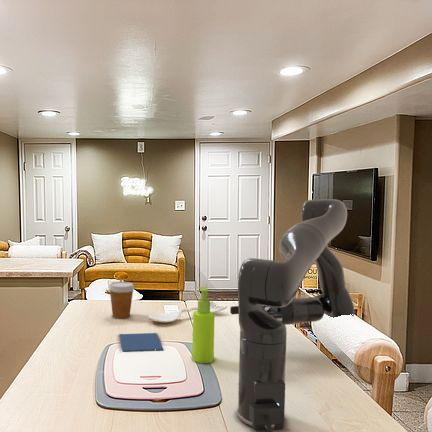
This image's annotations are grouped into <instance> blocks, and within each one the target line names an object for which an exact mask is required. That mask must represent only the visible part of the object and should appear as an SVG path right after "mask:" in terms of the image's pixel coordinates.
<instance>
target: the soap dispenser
mask: <svg viewBox="0 0 432 432" xmlns="http://www.w3.org/2000/svg"><path fill="white" fill-rule="evenodd" d="M198 290H200V299H198V300H197V308H198V310H193V312H192V350H191V351H192V352H191V353H192V355H193V356H192V355H191V356H192V357H191V359H192V361H194V362H196V363H199V364H211V363H212V362H214V354H215V353H214V352H215V312H214V313H213V312H211V311H210V302H211V300H210V299H208V293H209V289H208V287H207V286H198ZM194 357H195V358H194Z"/></svg>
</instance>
